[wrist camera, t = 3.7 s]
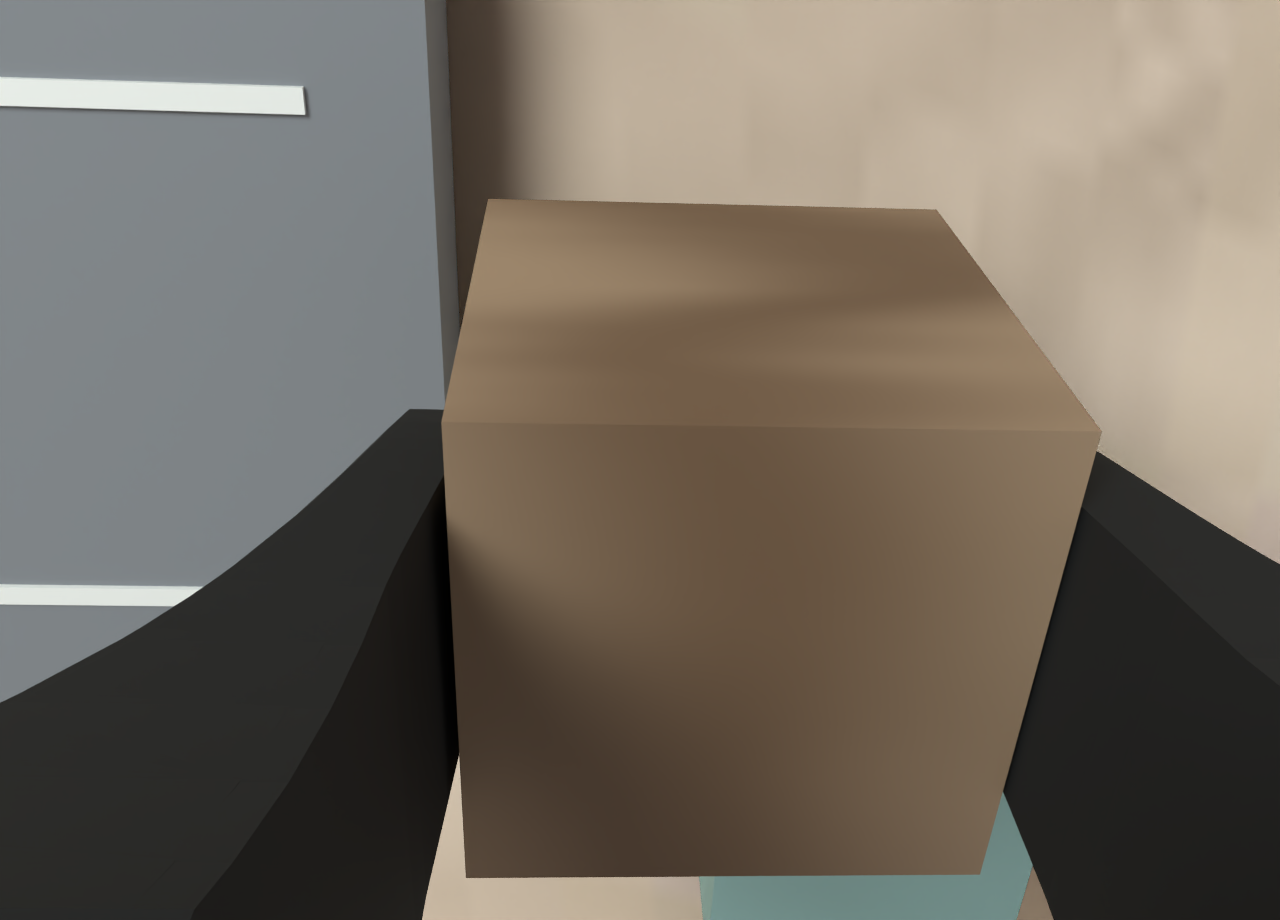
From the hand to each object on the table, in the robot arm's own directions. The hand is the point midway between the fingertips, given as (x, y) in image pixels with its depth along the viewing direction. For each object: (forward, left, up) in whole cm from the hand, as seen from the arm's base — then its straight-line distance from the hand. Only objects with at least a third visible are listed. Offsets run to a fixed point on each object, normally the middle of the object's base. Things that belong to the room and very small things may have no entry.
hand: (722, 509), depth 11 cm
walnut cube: (0, 0, -2) cm, 2 cm away
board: (+7, +1, -7) cm, 10 cm away
